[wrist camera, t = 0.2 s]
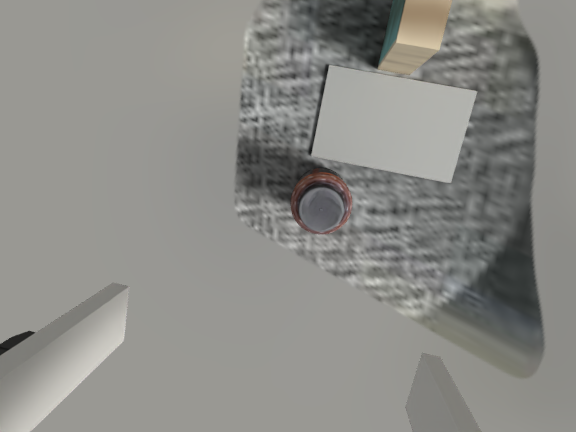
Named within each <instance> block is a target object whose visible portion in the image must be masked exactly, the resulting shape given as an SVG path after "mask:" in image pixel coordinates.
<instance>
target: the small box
mask: <svg viewBox="0 0 576 432" xmlns="http://www.w3.org/2000/svg"><path fill="white" fill-rule="evenodd" d="M451 3H452V0H393V3H392V7H391V12H390V16H389V21H388V25H387V29H386V34H385V38H384V43H383V47H382V51H381V56H380V60H379V65H378V70H384V71H389V72H395V73H400V74H406V75H410V74H411V73H413V72H414V71H415V70H416V69H417V68H418V67H420V66H421V65H422V64H423V63H424V62H426V61H427V60H428V59H429V58H430V57H432V56H433V55H434V54H435V53H436V52H438V51H439V49H440V45H441V41H442V38H443V34H444V30H445V26H446V22H447V18H448V14H449V11H450V7H451Z"/></svg>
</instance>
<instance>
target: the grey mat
mask: <svg viewBox="0 0 576 432" xmlns="http://www.w3.org/2000/svg"><path fill="white" fill-rule="evenodd" d="M476 94H477V91H473V90H468V89H462V88H456V87H451V86H445V85H440V84H434V83H428V82H423V81H417V80H412V79H406V78H400V77H395V76H389V75H383V74H378V73H372V72H367V71H361V70H355V69H350V68H344V67H339V66H333V65H329V69H328V74H327V79H326V84H325V89H324V94H323V99H322V104H321V109H320V114H319V119H318V124H317V129H316V134H315V139H314V144H313V149H312V154H311V156H313V157H319V158H324V159H329V160H334V161H339V162H344V163H349V164H354V165H360V166H365V167H370V168H375V169H380V170H385V171H390V172H396V173H401V174H406V175H411V176H416V177H421V178H426V179H431V180H437V181H442V182H447V183H451V180H452V177H453V174H454V170H455V167H456V163H457V160H458V156H459V153H460V149H461V146H462V142H463V139H464V135H465V132H466V128H467V125H468V122H469V118H470V115H471V111H472V108H473V104H474V101H475V97H476Z"/></svg>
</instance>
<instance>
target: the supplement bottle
mask: <svg viewBox="0 0 576 432" xmlns="http://www.w3.org/2000/svg"><path fill="white" fill-rule="evenodd" d="M351 210H352V197H351V194H350V191H349V189H348V187H347V185H346V184H345V182H344V181H343V179H342V178H341V177H340V176H339V175H338V174H337V173H336V172H334V171H332V170H330V169H326V168H317V169H313V170H310V171H308V172H307V173H305V174H304V175H303V176H302V177H301V178H300V180H299V181H298V183H297V185H296V187H295V188H294V190H293V193H292V196H291V211H292V215H293V217H294V219H295V220H296V222H297V223H298V224H299V225H300V226H301V227H302V228H303V229H305V230H306V231H308V232H311V233H314V234H329V233H332V232H334V231H336V230H338V229H339V228H340V227H342V226H343V225H344V224H345V223H346V221H347V220H348V218H349V216H350V214H351Z"/></svg>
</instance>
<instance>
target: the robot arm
mask: <svg viewBox="0 0 576 432" xmlns="http://www.w3.org/2000/svg"><path fill="white" fill-rule="evenodd" d="M128 295H129V286H126V285H121V284H117V283H112V284H110V285H109V286H107V287H106V288H104V289H103V290H101V291H99V292H98V293H96V294H95V295H93V296H92V297H90V298H89V299H87V300H86V301H84V302H82V303H81V304H79V305H78V306H76V307H75V308H73V309H72V310H70V311H69V312H67V313H65V314H64V315H62V316H61V317H59V318H58V319H56V320H55V321H53V322H51V323H50V324H48V325H47V326H45V327H44V328H42V329H41V330H39V331H38V332H31V331H28V332H25V333H22V334H19V335H16V336H14V337H11V338H9V339H8V340H6V341H4V342H3V343H2V344H0V432H30V431H31V430H33V429H34V427H36V426H37V425H38V424H39V423H40V422H41V421H42V420H43V419H44V418H45V417H46V416H47V415H48V414H49V413H50V412H51V411H52V410H53V409H54V408H55V407H56V406H57V405H58V404H59V403H60V402H61V401H62V400H63V399H64V398H65V397H66V396H67V395H69V394H70V393H71V392H72V391H73V390H74V389H75V388H76V387H77V386H78V385H79V384H80V383H81V382H82V381H83V380H84V379H85V378H86V377H87V376H88V375H89V374H90V373H91V372H92V371H93V370H94V369H95V368H96V367H97V366H98V365H99V364H100V363H101V362H102V361H103V360H105V359H106V358H107V357H108V355H110V354H111V353H112V352H113V351H114V350H115V349H116V348H117V347H118V346H119V345H120V344H121V343H122V342H123V341H124V335H125V325H126V315H127V305H128ZM406 411H407V414H408V417H409V421H410V424H411V427H412V430H413V432H481V430H480V428H479V426H478V424H477V423H476V421H475V419H474V417H473V415H472V414H471V412H470V410H469V408H468V406H467V405H466V403H465V401H464V399H463V397H462V395H461V394H460V392H459V390H458V388H457V386H456V385H455V383H454V381H453V379H452V377H451V376H450V374H449V372H448V370H447V369H446V367H445V365H444V363H443V361H442V360H441V358H440V357H438V356H434V355H429V354H425V353H422V355H421V358H420V361H419V364H418V368H417V371H416V374H415V378H414V381H413V384H412V387H411V391H410V394H409V397H408V400H407V404H406Z"/></svg>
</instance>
